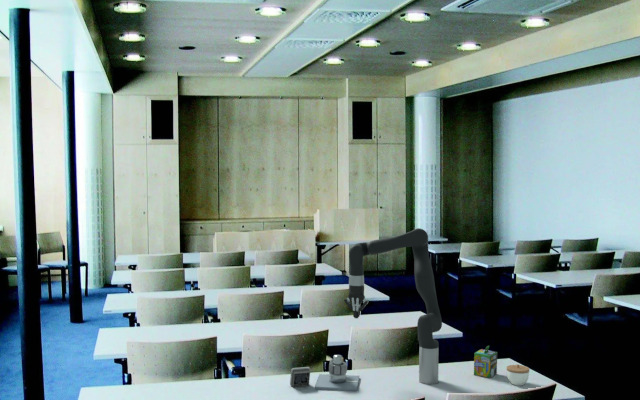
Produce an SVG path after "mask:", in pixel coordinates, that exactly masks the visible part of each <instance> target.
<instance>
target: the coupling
mask: <svg viewBox="0 0 640 400" xmlns="http://www.w3.org/2000/svg"><path fill="white" fill-rule="evenodd" d="M347 372H348V363H347V362H345V361H344V357H343V356H342V365H333V362H330V361H329V364H328V373H332V374H345V373H346V374H347Z"/></svg>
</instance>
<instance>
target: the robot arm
mask: <svg viewBox="0 0 640 400" xmlns="http://www.w3.org/2000/svg"><path fill="white" fill-rule="evenodd" d="M411 247H412V252H413V253H412V254H413V258H414V259H413V260H414V267H413V268H414V269H413V270H414V272H413V273H414V282H415V288H416V290H417V293H418V294H419V296H420V297H421V298H422V300H423V302H424V303H425V308H426V313H425V314H423V315H420V316H419V317H418V318H417V319H418V320H417V327H416V328H417V341H418V344H419V352H418V356H419V358H418V359H419V360H418V361H419V362H418V364H419V365H418V381H419V382H420V383H421V384H426V385H432V384H433V385H434V384H439V366H440V365H439V341H438V340H437V339H435V338H434V336H433V333H437V332H439V331H440V330H441V329H442V327H443V320H442V315H441V311H440V307H439V304H438V298H437V291H436V285H435V282H436V281H435V276H434V271H433V270H434V269H433V266H432V262H431V259H430V256H429V255H430V253H429V235H428V232H426V230H425V229H423V228H419V227H417V228H414V229H413V230H411V231H408V232H405V233H402V234H400V235H396V236H395V235H394V236H389V237H383V238H378V239H374V240H370V241H366V242H365V241H364V242H358V243H355V244H352V245H351V246H350V248H349V251H348V254H349V255H348V258H349V277H348V295H347V298H344V300H343V301H344V303H345V304H346V305H347V307H348V309H349V310H351V311H352V314H353V318H354V319H359V317H360V315H361V314H360V311H363V310H364V308H365V307H366V306H367V305H368V304H369V302H370V301H369V300H368V299H366V296H365V275H364V271H365V270H364V257H365V256H369V255H374V256H375V255H380V254H384V253H387V252H391V251H394V250H398V249H401V248H402V249H403V248H411ZM361 304H362V305H361Z"/></svg>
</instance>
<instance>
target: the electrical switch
mask: <svg viewBox="0 0 640 400" xmlns="http://www.w3.org/2000/svg"><path fill="white" fill-rule="evenodd" d="M310 371H311V367H310V366H304V367H303V366H302V367H293V368H291V369H290V379H289V385H290V386H291V387H293V388H301V387H302V388H305V387H309V386H310V377H311V372H310Z"/></svg>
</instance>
